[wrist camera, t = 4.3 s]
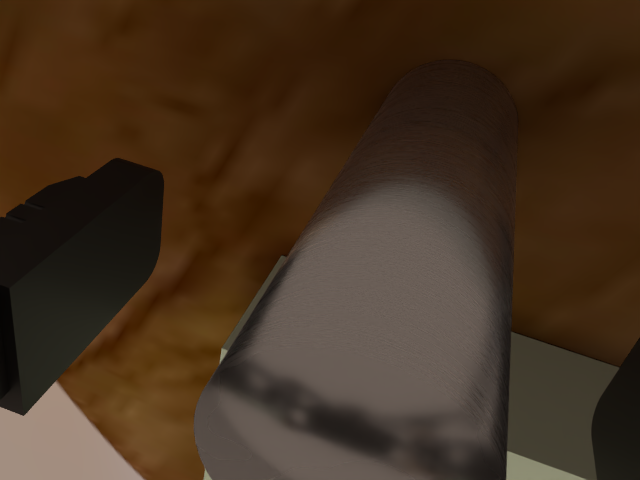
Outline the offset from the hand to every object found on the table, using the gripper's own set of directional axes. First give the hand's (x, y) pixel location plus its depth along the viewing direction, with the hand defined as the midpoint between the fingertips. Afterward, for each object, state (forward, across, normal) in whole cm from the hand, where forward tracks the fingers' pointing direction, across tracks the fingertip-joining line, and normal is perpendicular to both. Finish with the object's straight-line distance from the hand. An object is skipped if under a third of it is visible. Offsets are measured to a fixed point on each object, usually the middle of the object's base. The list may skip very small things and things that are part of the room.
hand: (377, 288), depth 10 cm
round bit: (+8, 0, 0) cm, 9 cm away
